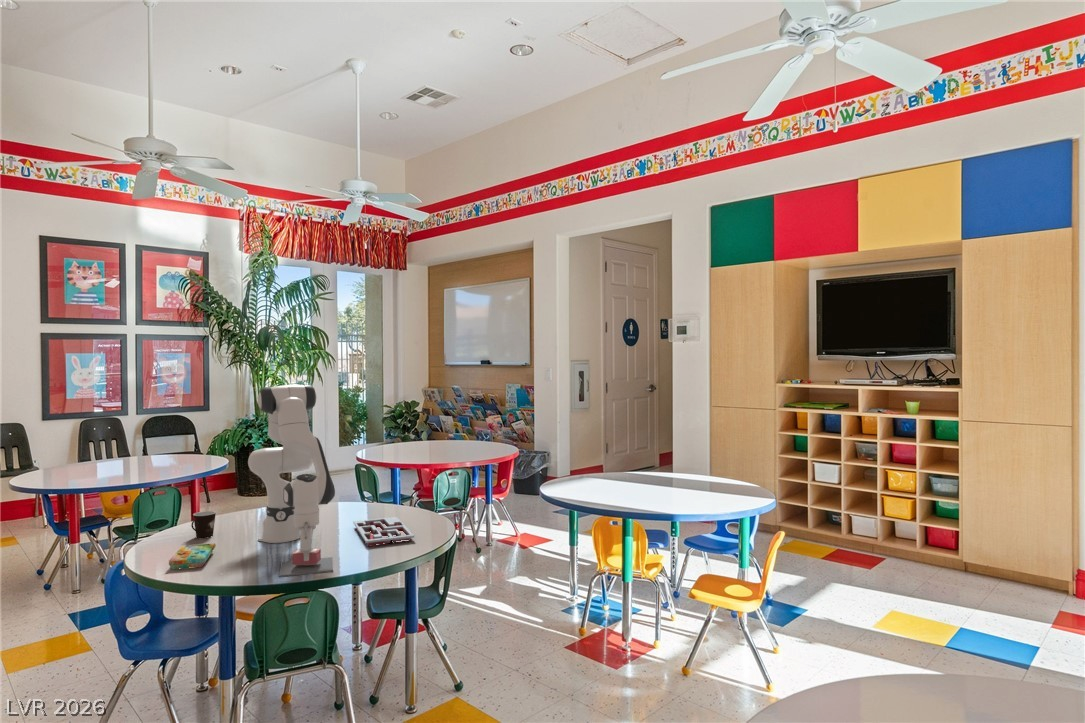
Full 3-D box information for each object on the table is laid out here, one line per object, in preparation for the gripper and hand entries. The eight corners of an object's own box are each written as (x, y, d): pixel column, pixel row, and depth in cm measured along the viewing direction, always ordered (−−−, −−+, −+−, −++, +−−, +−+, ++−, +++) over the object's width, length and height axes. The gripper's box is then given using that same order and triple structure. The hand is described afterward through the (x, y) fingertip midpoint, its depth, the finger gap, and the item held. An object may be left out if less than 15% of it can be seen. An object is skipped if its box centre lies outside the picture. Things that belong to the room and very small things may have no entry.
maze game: (414, 543, 269) (414, 535, 269) (366, 548, 261) (366, 541, 261) (396, 523, 301) (396, 516, 301) (353, 528, 293) (353, 521, 293)
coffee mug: (209, 532, 285) (209, 510, 285) (219, 535, 280) (219, 512, 280) (182, 538, 275) (182, 515, 275) (192, 542, 270) (192, 518, 270)
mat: (281, 563, 241) (281, 561, 241) (332, 558, 247) (332, 557, 247) (279, 577, 226) (279, 575, 226) (333, 571, 232) (333, 569, 232)
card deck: (320, 559, 240) (320, 548, 240) (316, 564, 234) (316, 552, 234) (296, 560, 239) (296, 548, 239) (292, 564, 234) (292, 553, 234)
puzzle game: (168, 558, 233) (182, 543, 253) (168, 571, 233) (182, 555, 253) (204, 555, 237) (215, 541, 256) (204, 568, 237) (215, 553, 256)
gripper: (315, 525, 228) (315, 564, 228) (316, 512, 247) (316, 548, 247) (296, 527, 226) (296, 566, 226) (298, 514, 245) (298, 550, 245)
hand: (306, 557), depth 237 cm, fingers closed on card deck, 6 cm apart
